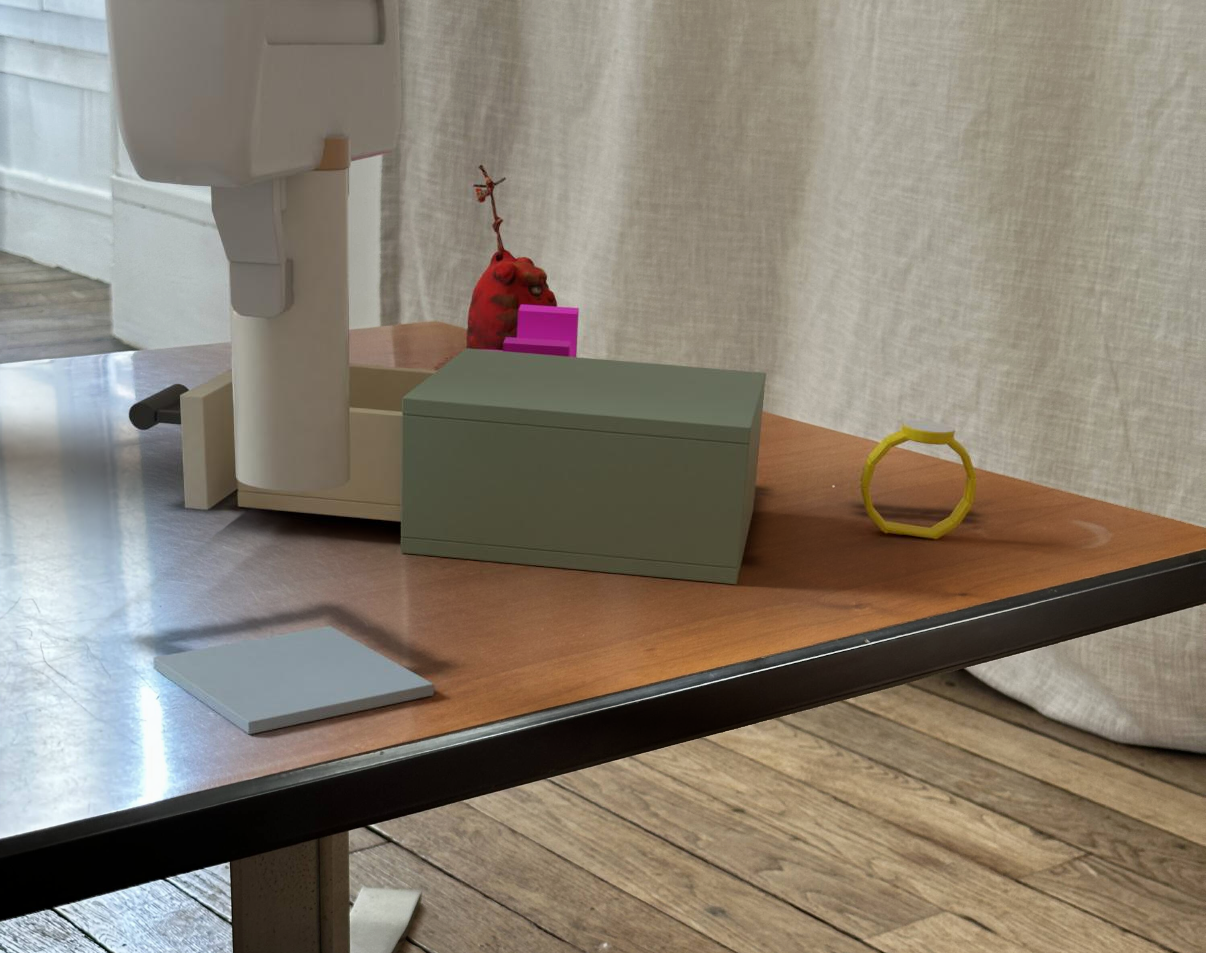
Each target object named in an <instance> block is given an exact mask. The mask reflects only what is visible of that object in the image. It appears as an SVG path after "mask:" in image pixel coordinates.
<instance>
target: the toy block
mask: <svg viewBox="0 0 1206 953" xmlns="http://www.w3.org/2000/svg"><path fill="white" fill-rule="evenodd" d="M579 308H580V307H570V306H557V307H556V306H539V305H523V304H521V306H520V308H519V310H518V325H517V338H512V337H506V338H505V340H504V342H503V351H505V352H517V353H529V354H542V355H554V356H566V357H577V356H578V355H577V354H578V330H579V313H580V309H579ZM481 350H486V349H481ZM493 351H502V350H493Z"/></svg>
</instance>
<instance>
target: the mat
mask: <svg viewBox="0 0 1206 953" xmlns="http://www.w3.org/2000/svg"><path fill="white" fill-rule="evenodd" d="M153 669H154V670H155V671H157V672H158V673H160V674H161V675H163V676H164V677H166V678H167V679H168V680H170V681H171V682H173V683H174V684H175V685H177V686H178V687H180V688H182V689H183V690H184V691H186V692H187V693H188V694H190V695H191V696H193V697H194V698H196V699H197V700H198V701H200V702H201V703H203V704H204V705H206V706H207V707H209V708H210V709H212V710H213V711H214V712H215V713H217V714H219V715H220V716H222V717H223V718H224V719H226V720H227V721H229V722H230V723H232V724H233V725H234V726H236V727H237V728H239V729H240V730H242V731H243V732H245V733H246V734H247V735H252V734H257V733H262V732H266V731H272V730H276V729H281V728H287V727H290V726H295V725H300V724H304V723H309V722H310V723H311V722H315V721H318V720H319V721H320V720H323V719H324V720H325V719H329V718H333V717H339V716H342V715H347V714H352V713H357V712H361V711H366V710H371V709H377V708H380V707H385V706H391V705H394V704H400V703H404V702H408V701H414V700H418V699H422V698H429V697H432V696H434V695H435V694H434V693H435V692H434V691H435V685H434V683H433V682H431V681H430V680H427V679H426V678H424V677H422V676H420V675H419V674H417V673H415V672H413V671H411V670H410V669H408V668H406V667H404V666H403V665H400V664H399V663H397V662H396V661H394V660H391V659H390V658H388V657H386V656H385V655H383V654H381V653H379V652H377V651H376V650H374V649H372V648H370V647H369V646H366V644H363V643H361V642H359V641H358V640H356V639H354V638H353V637H351V636H349V635H347V634H345V632H341V631H340V630H339V629H337V628H334V626H331V625H328V626H322V627H316V628H311V629H305V630H300V631H296V632H295V631H294V632H289V633H283V634H277V635H272V636H265V637H260V638H255V639H249V640H243V641H238V642H232V643H227V644H220V645H215V646H210V647H203V648H198V649H193V650H187V651H181V652H175V653H170V654H165V655H158V656H154V657H153Z"/></svg>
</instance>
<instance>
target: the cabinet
mask: <svg viewBox="0 0 1206 953" xmlns="http://www.w3.org/2000/svg"><path fill="white" fill-rule="evenodd" d="M766 377H767V373H766V372H761V371H747V370H735V369H726V368H725V369H724V368H713V367H712V368H711V367H701V366H700V367H698V366H687V365H676V364H661V363H650V362H639V361H638V362H637V361H628V360H627V361H625V360H614V359H603V358H602V359H601V358H589V357H577V356H576V357H566V356H554V355H542V354H529V353H517V352H505V351H493V350H481V349H468V348H466V347H465V349H463V350H462V351H460V352H459V353H458V354H457V355H455V356H454V357H453V358H452V359H450V360H449V361H448V362H447V363H444V365H442V366H441V367H440V368H439V369H437V370H436V372H435V373H434V374H432V375H431V376H430V377H429V378H427V379H426V380H425V381H423V382H422V383H421V384H420V385H418V386H417V387H416V388H414V389H413V390H412V391H411V392H409V393H408V394H407V395H405V396H404V397H403V398H402V414H403V415H402V468H401V522H400V553H401V554H408V555H409V554H410V555H419V556H420V555H421V556H430V557H440V558H453V559H462V560H463V559H464V560H473V561H474V560H475V561H481V562H482V561H484V562H495V563H504V564H505V563H506V564H516V565H526V566H535V567H536V566H537V567H548V568H558V569H569V570H579V571H588V572H589V571H590V572H601V573H609V574H610V573H611V574H621V575H622V574H623V575H633V576H641V577H642V576H643V577H654V578H662V579H663V578H664V579H673V580H684V581H695V582H707V583H718V584H728V585H737V584H738V579H739V575H740V570H741V566H742V562H743V557H744V553H745V547H746V543H747V538H748V535H749V530H750V525H751V520H752V517H753V512H754V506H755V505H754V504H755V495H756V494H755V493H756V485H757V484H756V483H757V474H758V462H759V452H760V441H761V433H762V432H761V430H762V421H763V411H764V399H765V391H766V390H765V387H766V380H767V378H766Z"/></svg>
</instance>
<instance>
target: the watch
mask: <svg viewBox="0 0 1206 953" xmlns="http://www.w3.org/2000/svg"><path fill="white" fill-rule="evenodd" d="M955 432H956V431H955V428H954V427H952V426H950V425H947V424H944V423H940V422H936V421H929V420H917V419H916V420H913V419H910V420H905V421H903V422H902V425H901V429H900V430H898V431H895V432H893V433H890V434H889V435H886V437H883V439H881V441H880V442H879V443H878V444H877V445H876V447H874V449H872V450H871V452H870V453H869V454H868V456H867V458H866V459H865V462H864V466H863V469H862V473H861V477H860V484H859V486H860V491H861V496H862V501H863V506H864V508H865V512H866V513H867V516H868V517H869V519H871V521H872V522H873V523H874V524H875V525H876V527H877V528H878V529H879V530H880V531H881V532H882V533H884V534H894V535H900V536H901V535H904V536H905V535H906V536H913V537H919V538H924V539H930V540H931V539H932V540H938V539H940V538H941V537H943V536H945V535H947V534H948V533H949V532H951V531H953V530H955V529H957V526H960V524H961V523H962V521H963V520H964V519H965V517H966V516H967V514H968V513H969V512H970V510H971V509H972V507H973V504H974V502H975V501H974V500H975V495H976V488H977V482H978V480H977V473H976V470H975V468H974V465H973V462H972V459H971V458H970V457H971V456H970V455H969V453H968V451H967V450H966V449H965V446H963V445H962V444H961V443H960V442H959V441H958V440H956V439H955ZM908 441H911V442H915V443H920V444H927V445H938V446H939V445H940V446H941V445H943V446H945V445H946V446H948V447H949V448H950V449H952V450H953V451H954V452H955V453H956V454H957V455H958V456H959V457H960V459H961V462H962V465H963V468H964V471H965V473H966V475H965V483H964V488H963V497H962V498H961V499H960V501H959V502H958V504H957V505H956V507H955V508H954V510H953V511H952V512H951V514H950V515H949V516H948V517H946V518H945V519H942V520H941V521H939V522H937V523H936V524H933V525H932V526H931V527H927V526H920V525H914V524H907V523H901V522H894V521H888V520H885V519H884V518H883V517H882V516H881V514H880V513H879V512H878V511H877V509H875V507H874V506H873V502H872V497H871V491H870V485H871V482H872V478H873V475H874V471H875V468H876V466H877V464H878V463H879V462H880V461H881V460H882V458H884V457H885V455H887V453H888V452H889V451H890V450H891V449H892V448H893V447H896V446H899V445H901V444H903V443H906V442H908Z"/></svg>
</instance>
